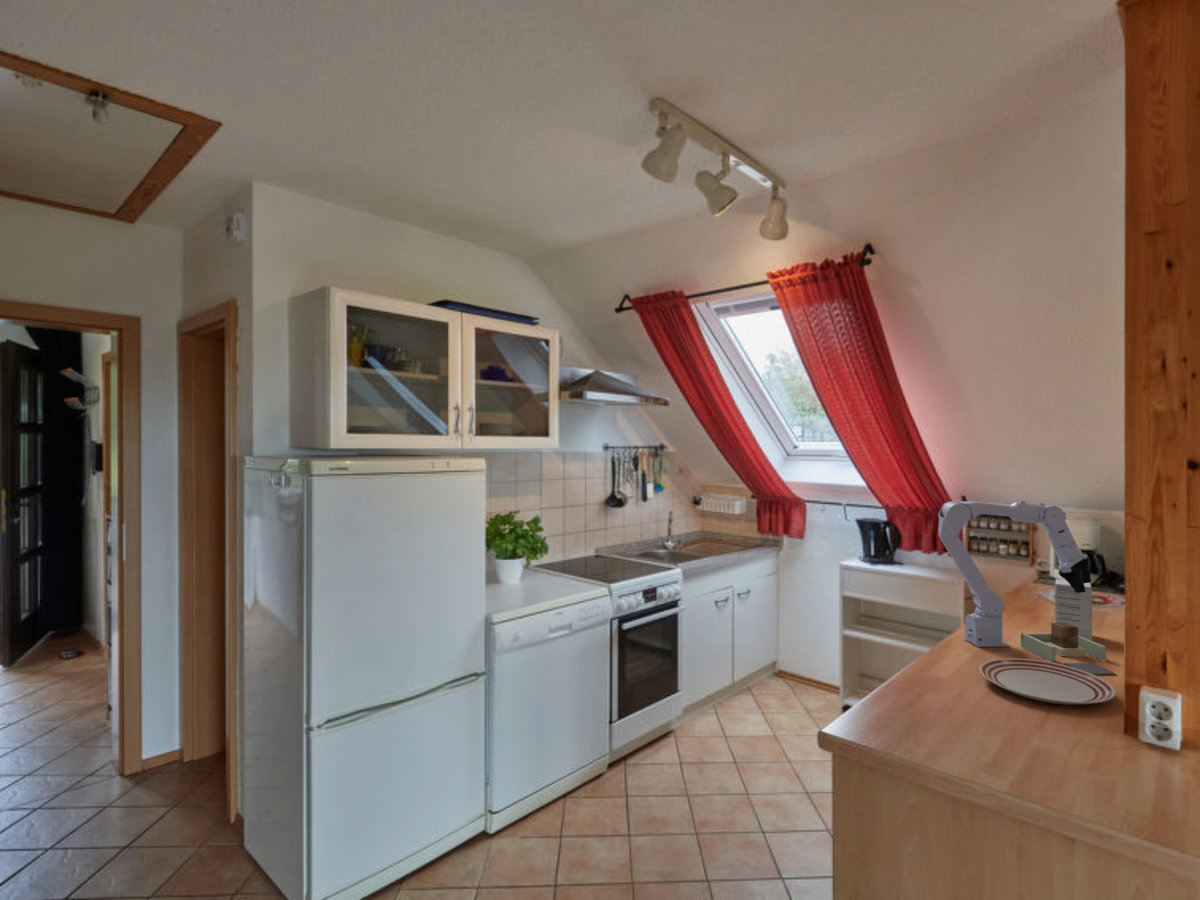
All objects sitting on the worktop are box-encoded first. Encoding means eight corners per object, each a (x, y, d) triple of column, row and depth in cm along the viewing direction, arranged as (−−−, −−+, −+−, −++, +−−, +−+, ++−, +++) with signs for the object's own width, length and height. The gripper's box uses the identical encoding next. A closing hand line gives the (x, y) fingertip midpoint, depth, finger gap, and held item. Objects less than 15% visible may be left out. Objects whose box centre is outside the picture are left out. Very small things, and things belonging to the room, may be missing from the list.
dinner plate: (1143, 717, 139) (1143, 702, 139) (1007, 709, 145) (1006, 694, 145) (1076, 673, 166) (1076, 661, 166) (963, 667, 172) (963, 655, 172)
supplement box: (1092, 643, 190) (1091, 587, 190) (1054, 637, 196) (1054, 583, 196) (1091, 635, 198) (1091, 581, 198) (1055, 630, 203) (1055, 578, 203)
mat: (1085, 675, 164) (1085, 673, 164) (1063, 664, 172) (1063, 663, 172) (1116, 675, 164) (1116, 673, 164) (1093, 664, 172) (1093, 662, 172)
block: (1062, 648, 180) (1062, 627, 180) (1051, 643, 184) (1051, 622, 184) (1078, 647, 180) (1078, 627, 180) (1066, 643, 184) (1066, 622, 184)
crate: (1051, 661, 175) (1051, 647, 175) (1021, 646, 188) (1020, 633, 188) (1106, 661, 174) (1106, 646, 174) (1071, 646, 187) (1071, 632, 187)
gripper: (1073, 549, 178) (1094, 594, 176) (1085, 533, 187) (1105, 576, 186) (1045, 553, 183) (1066, 597, 182) (1058, 538, 192) (1078, 580, 191)
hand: (1084, 587), depth 184 cm, fingers open, 7 cm apart
